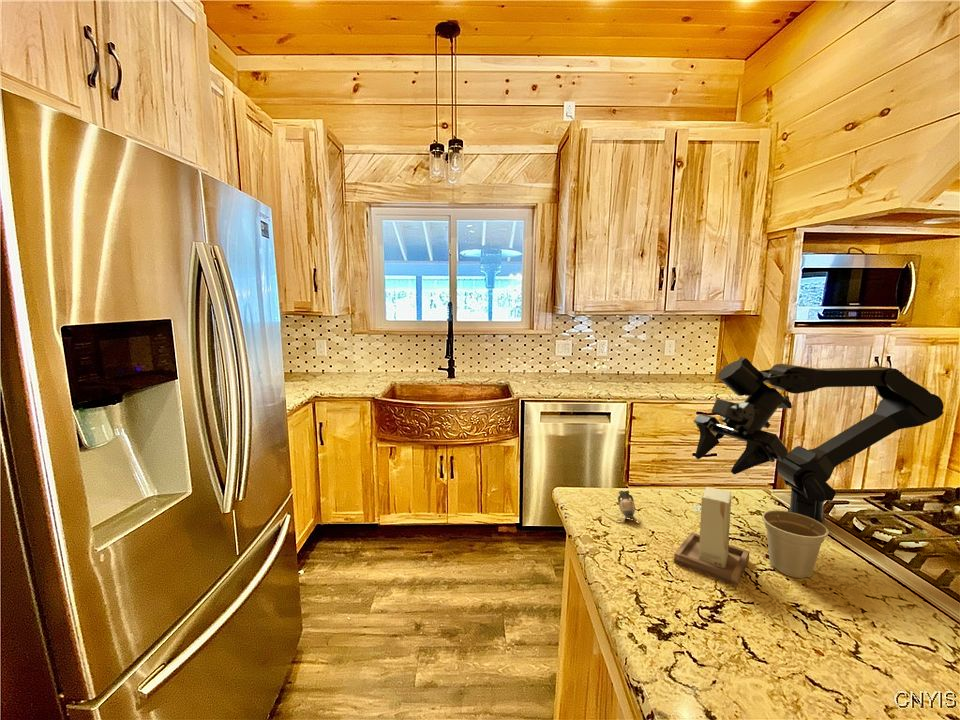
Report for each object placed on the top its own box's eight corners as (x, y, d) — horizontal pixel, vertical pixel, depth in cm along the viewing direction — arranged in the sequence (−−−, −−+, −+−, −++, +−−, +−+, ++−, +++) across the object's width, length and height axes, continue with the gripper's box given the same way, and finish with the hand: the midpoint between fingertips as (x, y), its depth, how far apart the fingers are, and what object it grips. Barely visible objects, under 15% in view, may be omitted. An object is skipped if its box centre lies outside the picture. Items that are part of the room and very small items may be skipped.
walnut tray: (690, 540, 83) (691, 532, 83) (748, 560, 76) (749, 551, 76) (674, 562, 76) (674, 553, 75) (736, 586, 69) (737, 576, 69)
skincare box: (725, 570, 72) (729, 503, 71) (697, 561, 74) (700, 497, 73) (728, 553, 77) (732, 490, 76) (702, 545, 80) (705, 485, 78)
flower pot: (838, 588, 68) (842, 539, 67) (774, 581, 70) (777, 534, 69) (805, 556, 77) (808, 512, 76) (750, 551, 79) (752, 508, 78)
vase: (610, 511, 96) (613, 486, 95) (634, 514, 95) (637, 489, 94) (615, 522, 90) (617, 496, 90) (640, 525, 90) (643, 499, 89)
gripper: (702, 379, 96) (661, 430, 94) (780, 394, 78) (732, 456, 76) (726, 410, 99) (687, 459, 97) (807, 430, 81) (762, 491, 79)
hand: (713, 465), depth 87 cm, fingers open, 9 cm apart
